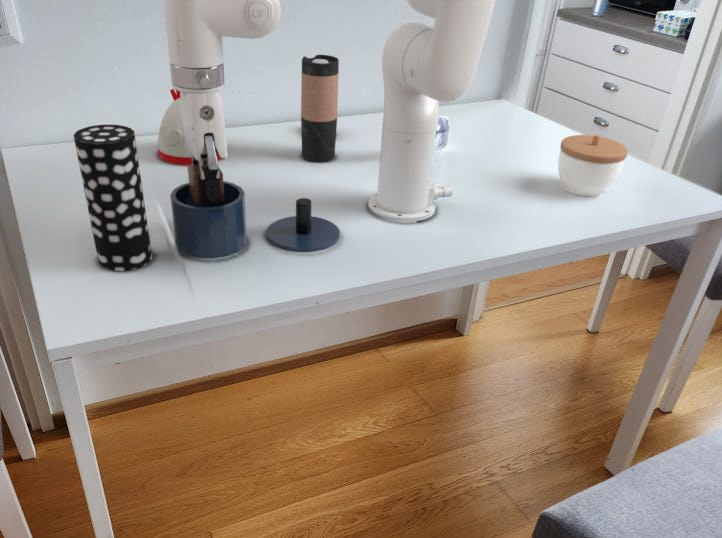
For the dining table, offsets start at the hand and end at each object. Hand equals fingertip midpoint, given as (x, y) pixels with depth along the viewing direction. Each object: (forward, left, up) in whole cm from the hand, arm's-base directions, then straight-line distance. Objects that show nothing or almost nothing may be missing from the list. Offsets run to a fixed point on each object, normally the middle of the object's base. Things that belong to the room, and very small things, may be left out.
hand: (207, 194), depth 108 cm
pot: (0, 0, -9) cm, 9 cm away
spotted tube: (+14, +1, -9) cm, 17 cm away
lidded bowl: (-77, -2, -9) cm, 78 cm away
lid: (-16, +2, -8) cm, 18 cm away
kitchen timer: (-5, -43, -9) cm, 44 cm away
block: (0, 0, 0) cm, 0 cm away
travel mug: (-31, -34, -9) cm, 47 cm away
